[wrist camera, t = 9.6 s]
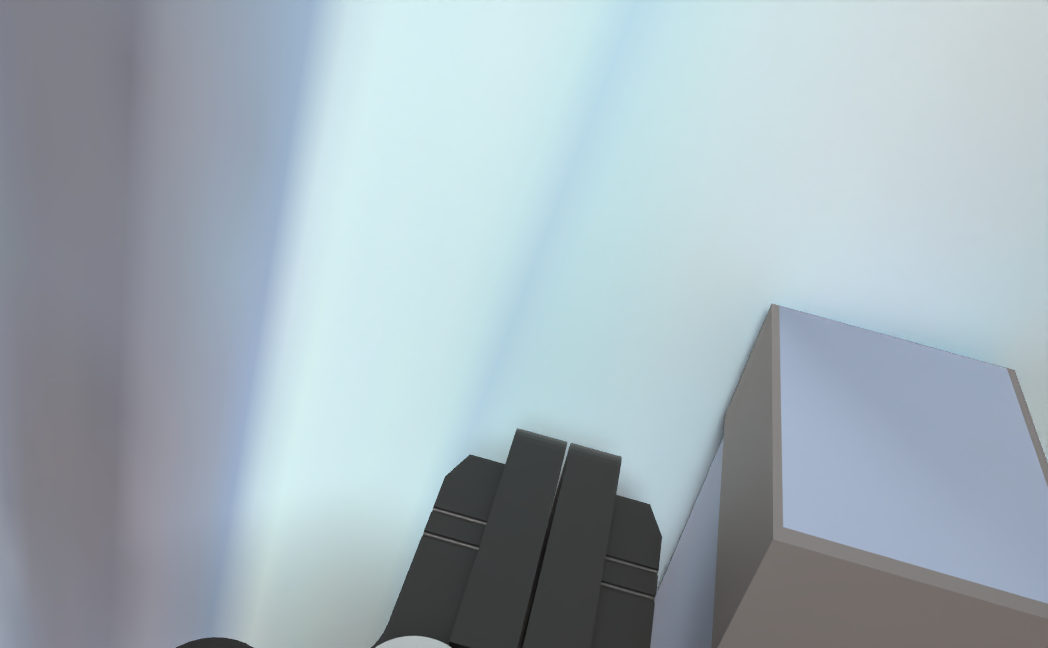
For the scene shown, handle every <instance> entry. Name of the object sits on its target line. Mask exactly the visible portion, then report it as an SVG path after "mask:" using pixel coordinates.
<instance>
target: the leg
mask: <svg viewBox="0 0 1048 648" xmlns="http://www.w3.org/2000/svg"><path fill="white" fill-rule="evenodd" d="M654 602H655V607H654V617H653V626H652V636H651V645H650V648H1048V463H1047V461H1046V458H1045V455H1044V452H1043V449H1042V446H1041V444H1040V441H1039V438H1038V435H1037V432H1036V430H1035V427H1034V424H1033V421H1032V418H1031V415H1030V413H1029V410H1028V407H1027V404H1026V401H1025V399H1024V396H1023V393H1022V390H1021V387H1020V385H1019V382H1018V379H1017V376H1016V373H1015V370H1012V369H1008V368H1004V367H1001V366H997V365H993V364H990V363H986V362H983V361H979V360H975V359H972V358H968V357H964V356H961V355H957V354H953V353H950V352H946V351H942V350H939V349H935V348H932V347H928V346H924V345H921V344H917V343H913V342H910V341H906V340H902V339H899V338H895V337H891V336H888V335H884V334H881V333H877V332H873V331H870V330H866V329H862V328H859V327H855V326H851V325H848V324H844V323H840V322H837V321H833V320H830V319H826V318H822V317H819V316H815V315H811V314H808V313H804V312H800V311H797V310H793V309H789V308H786V307H782V306H779V305H775V304H771V307H770V309H769V311H768V314H767V316H766V319H765V321H764V323H763V326H762V328H761V331H760V333H759V335H758V338H757V340H756V342H755V345H754V347H753V350H752V352H751V354H750V357H749V359H748V362H747V364H746V366H745V369H744V371H743V373H742V376H741V378H740V381H739V383H738V385H737V388H736V390H735V393H734V395H733V397H732V400H731V402H730V404H729V407H728V409H727V412H726V414H725V422H724V437H723V439H722V441H721V444H720V446H719V448H718V451H717V453H716V455H715V458H714V460H713V462H712V465H711V467H710V470H709V472H708V474H707V477H706V479H705V481H704V484H703V486H702V488H701V491H700V493H699V495H698V498H697V500H696V502H695V505H694V507H693V509H692V512H691V514H690V516H689V519H688V521H687V524H686V526H685V528H684V531H683V533H682V535H681V538H680V540H679V542H678V545H677V547H676V549H675V552H674V554H673V556H672V559H671V561H670V563H669V566H668V568H667V571H666V573H665V575H664V578H663V580H662V582H661V585H660V587H659V589H658V592H657V594H656V596H655V600H654Z"/></svg>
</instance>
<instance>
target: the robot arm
mask: <svg viewBox="0 0 1048 648" xmlns="http://www.w3.org/2000/svg"><path fill="white" fill-rule="evenodd" d="M566 446H567V442H565V441H561V440H558V439H554V438H551V437H547V436H543V435H540V434H536V433H533V432H529V431H525V430H522V429H518V428H517V430H516V433H515V436H514V439H513V442H512V445H511V449H510V452H509V455H508V458H507V461H506V464H502V463H499V462H495V461H492V460H488V459H484V458H481V457H477V456H474V455H469V456H468V457H467V458H466V459H464V460H463V461H462V462H461V463H460V464H459V465H458V466H457V467H455V468H454V469H453V470H452V471H451V472H450V473H449V474H447V475H446V476H445V478H444V481H443V484H442V486H441V489H440V491H439V494H438V496H437V499H436V502H435V504H434V507H433V511H432V512H431V514H430V517H429V520H428V522H427V525H426V527H425V530H424V534H423V536H422V538H421V540H420V543H419V545H418V548H417V550H416V553H415V556H414V558H413V561H412V563H411V566H410V569H409V571H408V574H407V576H406V579H405V581H404V584H403V587H402V589H401V592H400V594H399V597H398V599H397V602H396V605H395V607H394V610H393V612H392V615H391V617H390V620H389V623H388V625H387V627H386V629H385V631H384V633H383V634H382V636H381V637H380V639H379V640H378V641H377V642H376V643H375V644H374V645H373V646H372V647H371V648H650V645H651V636H652V626H653V617H654V607H655V602H654V600H655V596H656V588H657V579H658V576H657V573H658V569H659V560H660V550H661V541H662V536H661V533H660V530H659V528H658V525H657V522H656V520H655V517H654V514H653V512H652V509H651V506H650V504H646V503H643V502H639V501H636V500H632V499H629V498H625V497H621V496H618V495H616V491H617V485H618V479H619V473H620V467H621V457H620V456H616V455H613V454H609V453H606V452H602V451H598V450H595V449H591V448H588V447H584V446H580V445H577V444H573V443H571V444H570V447H569V450H568V454H567V457H566V461H565V464H564V468H563V471H562V474H561V478H560V481H559V485H558V488H557V492H556V495H555V491H556V487H557V483H558V479H559V475H560V471H561V466H562V462H563V458H564V454H565V450H566ZM554 495H555V499H554ZM553 499H554V502H553ZM552 503H553V506H552ZM551 507H552V509H551ZM550 511H551V512H550ZM176 648H253V647H251V646H249V645H248V644H246V643H243V642H240V641H237V640H234V639H228V638H215V637H212V638H204V639H198V640H195V641H191V642H188V643H185V644H183V645H181V646H178V647H176Z"/></svg>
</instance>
